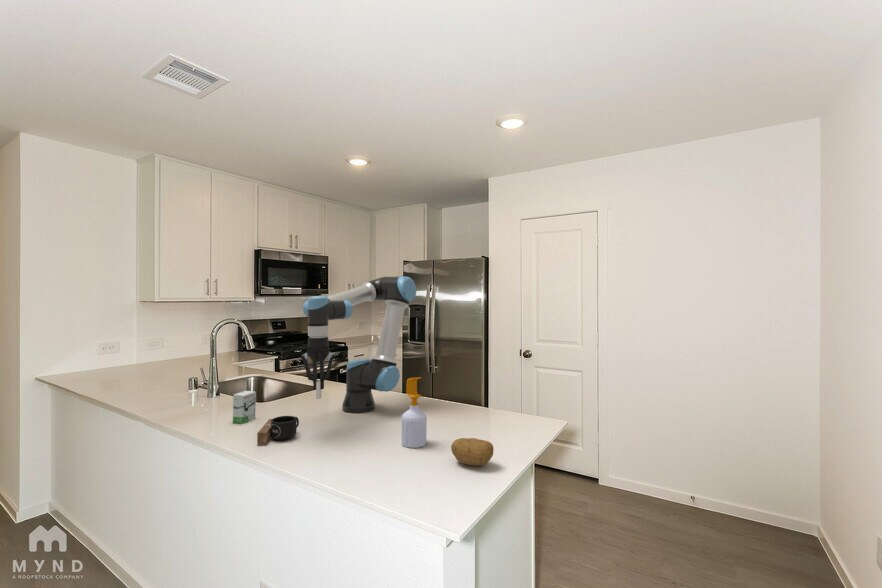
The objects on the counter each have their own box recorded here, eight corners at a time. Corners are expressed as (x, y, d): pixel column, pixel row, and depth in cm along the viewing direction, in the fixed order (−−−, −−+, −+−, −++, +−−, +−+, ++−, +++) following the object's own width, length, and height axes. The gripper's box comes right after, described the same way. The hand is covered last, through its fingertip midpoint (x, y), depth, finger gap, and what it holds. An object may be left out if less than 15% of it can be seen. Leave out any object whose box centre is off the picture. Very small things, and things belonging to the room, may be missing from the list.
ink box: (242, 424, 168) (242, 395, 168) (232, 423, 169) (232, 394, 169) (256, 418, 177) (256, 390, 177) (246, 417, 178) (246, 390, 178)
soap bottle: (407, 450, 143) (408, 380, 143) (397, 441, 151) (398, 375, 151) (430, 446, 147) (431, 377, 147) (419, 437, 155) (420, 373, 155)
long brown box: (277, 430, 161) (277, 418, 161) (266, 445, 146) (266, 431, 146) (269, 430, 161) (269, 418, 161) (257, 445, 145) (257, 432, 145)
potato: (456, 455, 139) (456, 431, 139) (496, 462, 134) (497, 437, 134) (446, 466, 130) (446, 441, 130) (489, 474, 124) (489, 448, 124)
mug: (283, 443, 147) (283, 424, 147) (265, 439, 151) (265, 420, 151) (307, 433, 158) (307, 415, 158) (289, 430, 162) (289, 412, 162)
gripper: (336, 335, 161) (337, 394, 161) (302, 335, 159) (302, 395, 159) (334, 337, 153) (335, 399, 154) (298, 338, 151) (299, 401, 152)
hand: (318, 397), depth 157 cm, fingers closed
